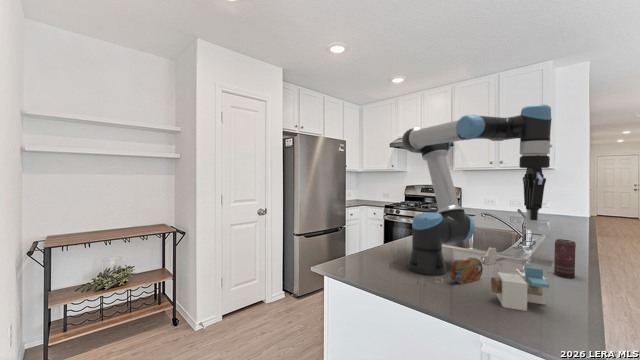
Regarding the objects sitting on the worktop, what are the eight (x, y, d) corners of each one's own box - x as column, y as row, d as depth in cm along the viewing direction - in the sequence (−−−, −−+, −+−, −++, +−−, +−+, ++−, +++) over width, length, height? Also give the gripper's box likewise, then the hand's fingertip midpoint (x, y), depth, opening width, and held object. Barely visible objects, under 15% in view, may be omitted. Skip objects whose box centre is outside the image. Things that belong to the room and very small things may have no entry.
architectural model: (481, 263, 125) (481, 247, 125) (489, 261, 129) (489, 245, 128) (488, 266, 122) (489, 249, 122) (497, 263, 126) (497, 247, 125)
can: (579, 279, 106) (580, 242, 106) (560, 277, 107) (561, 242, 107) (568, 273, 112) (569, 239, 112) (550, 272, 113) (551, 238, 113)
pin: (493, 294, 86) (494, 280, 86) (490, 289, 90) (491, 275, 90) (543, 302, 81) (544, 286, 81) (538, 295, 85) (538, 280, 85)
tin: (455, 285, 99) (455, 262, 99) (448, 282, 102) (448, 260, 102) (483, 279, 106) (483, 257, 105) (475, 276, 108) (476, 255, 108)
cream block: (502, 307, 83) (503, 281, 83) (497, 296, 91) (497, 272, 91) (526, 310, 81) (527, 284, 81) (518, 299, 89) (519, 274, 88)
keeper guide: (521, 301, 87) (521, 276, 87) (514, 292, 94) (515, 268, 94) (545, 304, 85) (546, 278, 85) (537, 295, 92) (538, 271, 91)
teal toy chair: (532, 286, 81) (532, 273, 81) (524, 277, 88) (525, 265, 88) (549, 288, 80) (549, 275, 80) (540, 279, 86) (540, 267, 86)
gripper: (558, 154, 79) (554, 235, 80) (541, 156, 91) (538, 226, 92) (526, 154, 82) (523, 233, 83) (514, 156, 94) (512, 225, 95)
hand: (531, 229), depth 88 cm, fingers closed
